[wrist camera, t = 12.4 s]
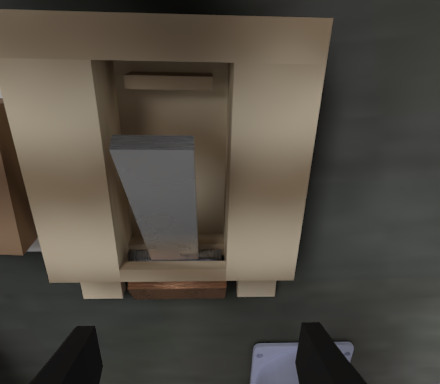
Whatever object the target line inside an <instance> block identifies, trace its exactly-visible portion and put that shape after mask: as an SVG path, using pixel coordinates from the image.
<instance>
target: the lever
mask: <svg viewBox="0 0 440 384" xmlns="http://www.w3.org/2000/svg"><path fill="white" fill-rule="evenodd" d="M109 151H110V153H111V156H112V159H113V161H114V164H115V166H116V169H117V172H118V174H119V177H120V179H121V182H122V185H123V187H124V190H125V193H126V195H127V198H128V200H129V203H130V206H131V208H132V211H133V213H134V216H135V219H136V221H137V224H138V226H139V229H140V232H141V234H142V237H143V239H144V242H145V245H146V247H147V250H128V255H127V259H128V262H129V261H222V250H221V249H198V223H197V197H196V172H195V146H194V136H187V135H112V137H111V142H110V147H109ZM226 289H227V283H226V281H165V282H128V291H129V292H130V294H131V295H132V296H133V298H134V299H200V298H225V294H226Z"/></svg>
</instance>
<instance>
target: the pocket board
mask: <svg viewBox="0 0 440 384" xmlns="http://www.w3.org/2000/svg"><path fill="white" fill-rule="evenodd" d="M332 23H333V18H307V17H270V16H233V15H196V14H158V13H121V12H84V11H47V10H10V9H0V90H1V94H2V98H3V102H4V106H5V110H6V114H7V118H8V122H9V126H10V130H11V133H12V137H13V141H14V145H15V149H16V153H17V157H18V161H19V165H20V169H21V173H22V176H23V180H24V184H25V188H26V192H27V196H28V200H29V204H30V208H31V212H32V216H33V219H34V223H35V227H36V231H37V235H38V239H39V243H40V247H41V251H42V255H43V259H44V262H45V266H46V270H47V274H48V278H49V282H50V283H63V282H80V283H81V288H82V293H83V297H84V299H111V298H123V296H124V293H125V289H126V285H125V282H165V281H236V291H237V297H275V289H276V281H277V280H294V275H295V269H296V262H297V256H298V249H299V242H300V236H301V229H302V222H303V216H304V209H305V203H306V196H307V189H308V183H309V176H310V169H311V163H312V156H313V149H314V143H315V136H316V130H317V123H318V116H319V110H320V103H321V96H322V90H323V83H324V76H325V70H326V63H327V57H328V50H329V43H330V37H331V30H332ZM112 135H187V136H194V146H195V172H196V197H197V223H198V249H221V250H222V255H224V261H129V262H128V259H127V255H128V250H147V247H146V245H145V242H144V239H143V237H142V234H141V232H140V229H139V226H138V224H137V221H136V219H135V216H134V213H133V211H132V208H131V206H130V203H129V200H128V198H127V195H126V193H125V190H124V187H123V185H122V182H121V179H120V177H119V174H118V172H117V169H116V166H115V164H114V161H113V159H112V156H111V153H110V151H109V147H110V142H111V137H112Z"/></svg>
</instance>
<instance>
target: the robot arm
mask: <svg viewBox="0 0 440 384" xmlns="http://www.w3.org/2000/svg"><path fill="white" fill-rule="evenodd" d="M353 351H354V347H353V345H352V343H351V342H334V341H333V340H332V338H331V337H330V336H329V334H328V333H327V332H326V330H325V329H324V327H323V326H322V325H321V324H320V323H319V322H313V323H302V326H301V332H300V337H299V343H258V344H256V345H254V347H253V355H252V366H251V376H250V384H367V383H366V382H365V381H364V379H363V378H362V377H361V376H360V374H359V373H358V372H357V371H356V370H355V368H354V367H353V366H352V365H351V363H350V361H351V358H352V354H353ZM102 368H103V365H102V360H101V354H100V349H99V344H98V339H97V334H96V329H95V326H77V327H76V328H74V330H73V331H72V332H71V333H70V335H69V336H68V337H67V338H66V340H65V341H64V342H63V344H62V345H61V346H60V347H59V349H58V350H57V351H56V352H55V354H54V355H53V356H52V357H51V358H50V360H49V361H48V362H47V363H46V365H45V366H44V367H43V368H42V369H41V370H40V372H39V373H38V374H37V375H36V376H35V377H34V379H33V380H32V381H31V382H30V383H29V384H99V382H100V377H101V372H102Z"/></svg>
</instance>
